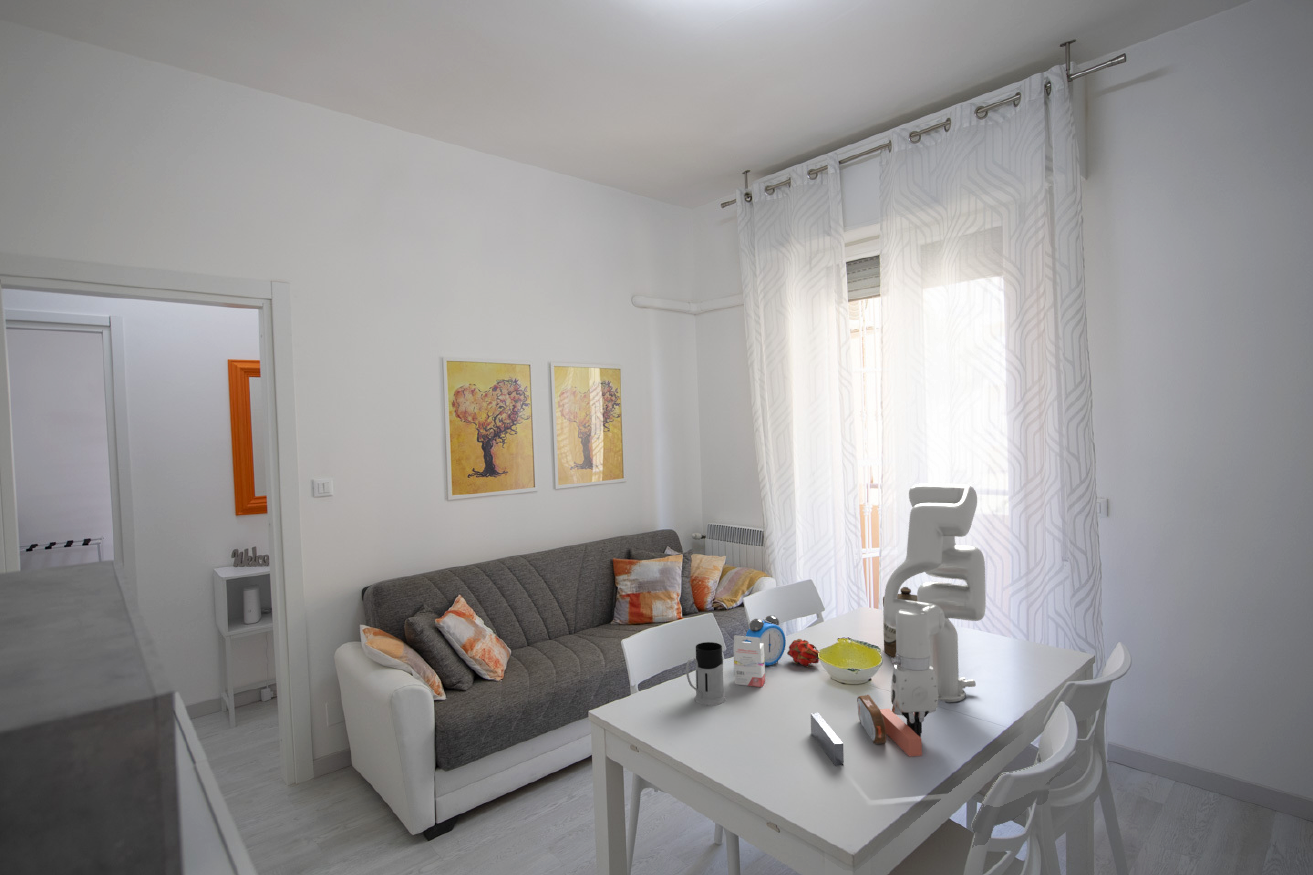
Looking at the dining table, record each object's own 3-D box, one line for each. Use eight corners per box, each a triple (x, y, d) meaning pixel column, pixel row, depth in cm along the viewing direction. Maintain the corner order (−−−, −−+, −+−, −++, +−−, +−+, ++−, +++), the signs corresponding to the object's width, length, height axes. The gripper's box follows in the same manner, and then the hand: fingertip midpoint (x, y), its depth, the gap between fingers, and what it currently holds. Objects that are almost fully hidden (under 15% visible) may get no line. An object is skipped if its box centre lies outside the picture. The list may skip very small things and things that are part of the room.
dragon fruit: (789, 663, 217) (819, 678, 208) (777, 653, 211) (807, 668, 202) (800, 639, 219) (830, 653, 210) (789, 630, 214) (819, 643, 205)
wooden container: (879, 645, 227) (878, 582, 227) (924, 645, 225) (923, 582, 225) (889, 660, 213) (887, 592, 212) (936, 661, 210) (935, 593, 210)
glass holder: (731, 697, 186) (730, 645, 186) (700, 714, 176) (698, 659, 176) (707, 689, 192) (706, 639, 192) (675, 705, 182) (674, 652, 182)
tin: (887, 750, 154) (887, 714, 154) (874, 750, 154) (873, 715, 154) (868, 721, 169) (867, 689, 169) (855, 721, 169) (855, 689, 169)
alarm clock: (756, 670, 207) (755, 623, 206) (743, 664, 212) (742, 618, 212) (786, 661, 213) (785, 616, 213) (774, 656, 219) (772, 611, 218)
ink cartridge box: (765, 681, 197) (764, 633, 197) (762, 687, 193) (760, 638, 193) (738, 678, 201) (737, 630, 200) (733, 684, 196) (732, 635, 196)
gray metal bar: (818, 732, 164) (818, 712, 164) (843, 765, 148) (843, 743, 148) (811, 733, 164) (810, 713, 164) (835, 765, 148) (834, 743, 148)
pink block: (889, 724, 166) (889, 708, 166) (921, 755, 150) (921, 738, 150) (878, 725, 166) (877, 709, 166) (909, 756, 150) (908, 739, 150)
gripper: (890, 668, 153) (892, 746, 154) (950, 664, 155) (952, 741, 155) (876, 657, 161) (878, 731, 161) (933, 653, 162) (935, 727, 163)
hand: (914, 736), depth 158 cm, fingers closed
